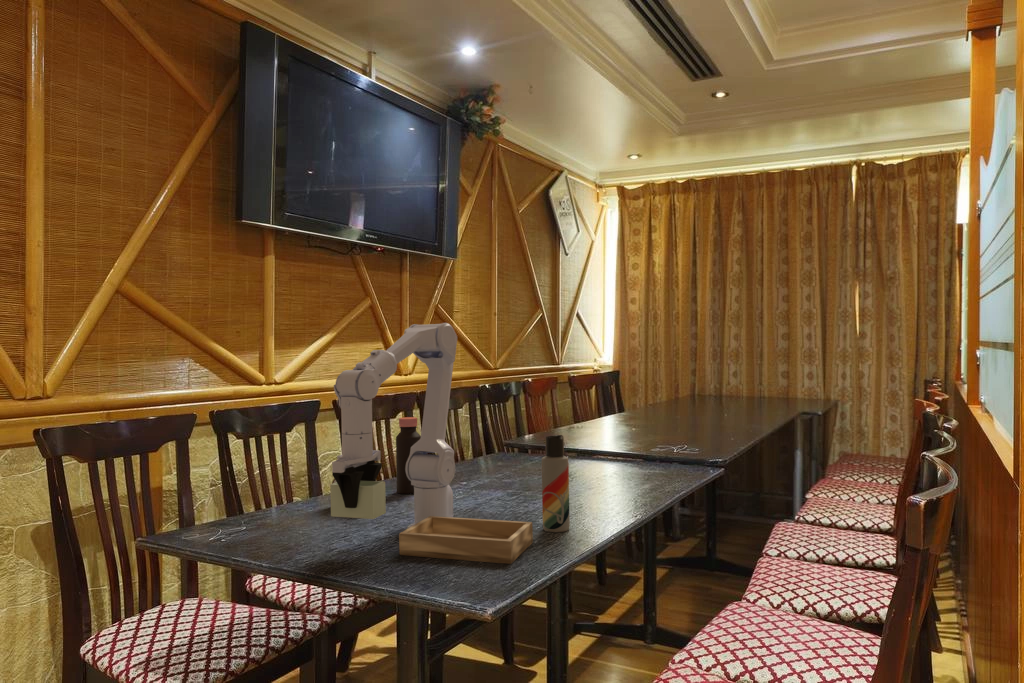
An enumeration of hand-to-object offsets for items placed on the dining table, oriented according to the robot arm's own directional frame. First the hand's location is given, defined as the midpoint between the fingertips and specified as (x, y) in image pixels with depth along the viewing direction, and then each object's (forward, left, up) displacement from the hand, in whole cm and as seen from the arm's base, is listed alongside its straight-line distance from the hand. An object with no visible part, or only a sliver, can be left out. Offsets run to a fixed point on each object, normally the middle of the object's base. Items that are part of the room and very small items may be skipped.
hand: (358, 504), depth 132 cm
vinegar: (-54, -16, -10) cm, 57 cm away
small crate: (0, 0, -2) cm, 2 cm away
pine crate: (-8, +19, -9) cm, 23 cm away
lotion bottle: (-26, +32, -10) cm, 42 cm away
